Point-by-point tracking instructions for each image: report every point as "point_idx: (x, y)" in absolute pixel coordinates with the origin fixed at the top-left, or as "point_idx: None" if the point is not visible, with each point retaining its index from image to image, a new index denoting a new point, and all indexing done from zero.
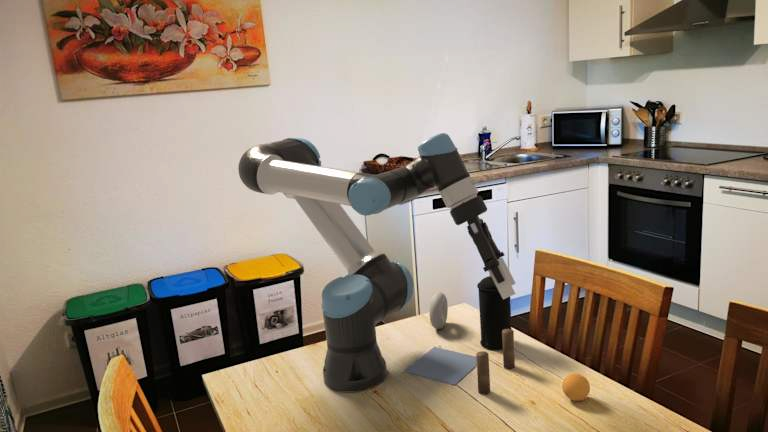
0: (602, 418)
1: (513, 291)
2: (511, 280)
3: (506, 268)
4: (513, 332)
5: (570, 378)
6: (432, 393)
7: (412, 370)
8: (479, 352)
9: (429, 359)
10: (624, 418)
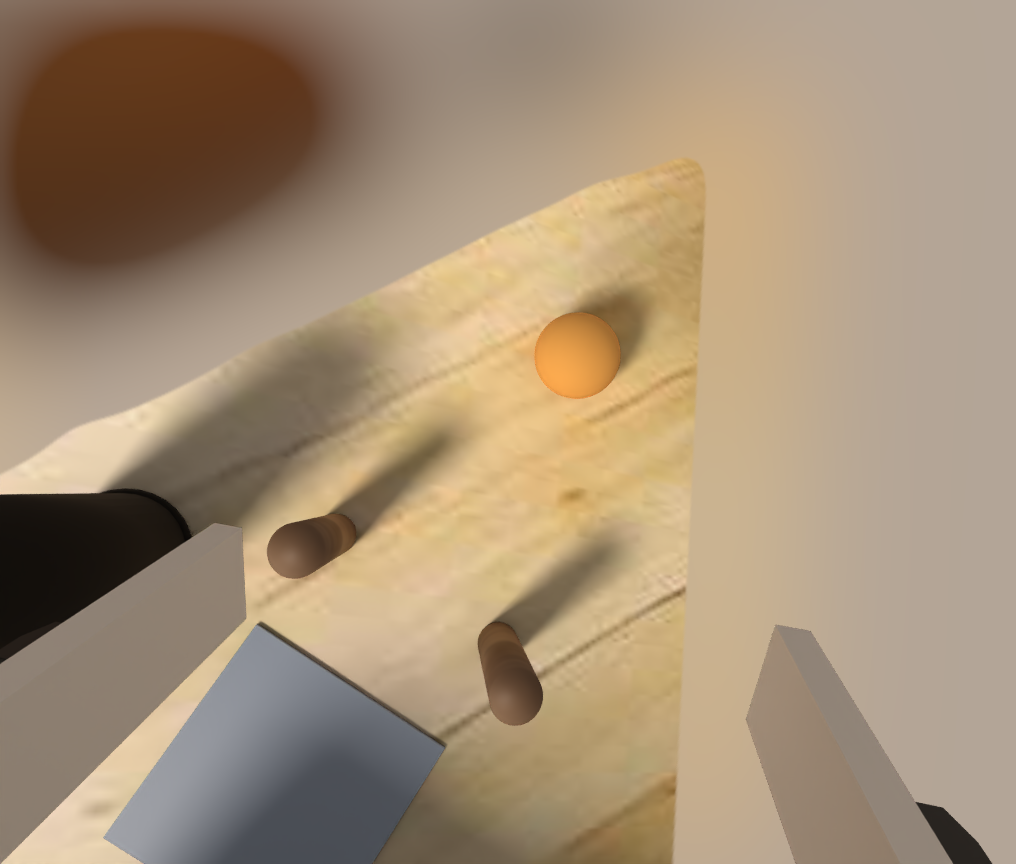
0: (667, 325)
1: (822, 653)
2: (215, 566)
3: (105, 638)
4: (306, 523)
5: (597, 366)
6: (487, 830)
7: None
8: (499, 709)
9: (225, 855)
10: (671, 271)
